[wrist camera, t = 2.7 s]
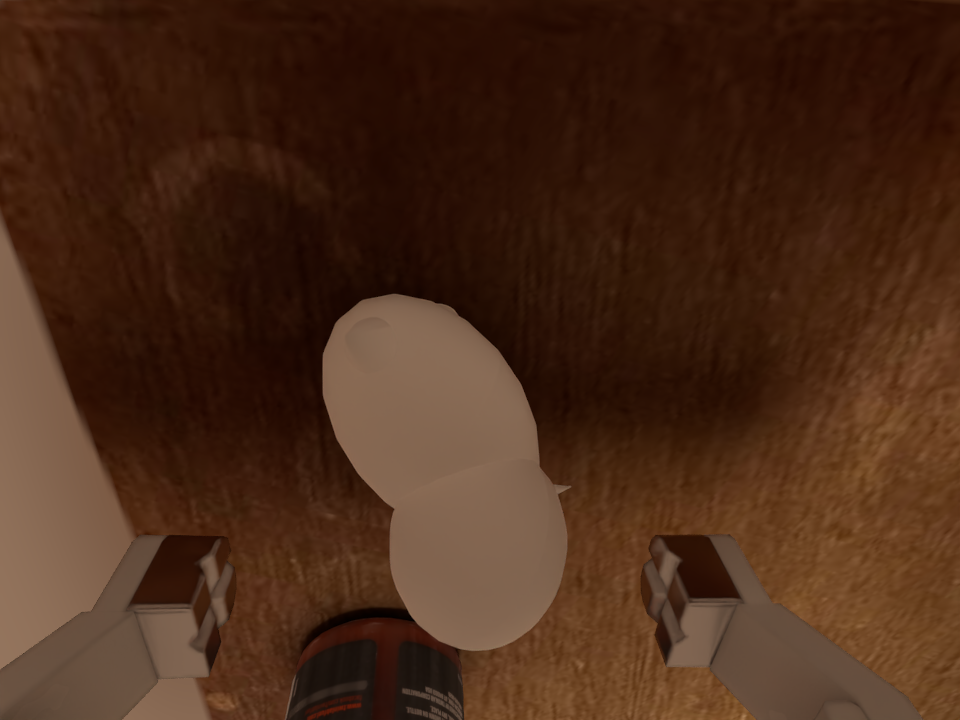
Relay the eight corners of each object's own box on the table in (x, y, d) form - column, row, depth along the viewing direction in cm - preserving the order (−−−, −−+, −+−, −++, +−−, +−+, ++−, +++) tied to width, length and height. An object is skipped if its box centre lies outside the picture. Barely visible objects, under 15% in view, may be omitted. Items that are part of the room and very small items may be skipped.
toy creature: (433, 514, 18) (431, 729, 13) (281, 300, 14) (183, 482, 9) (573, 460, 17) (636, 665, 12) (453, 218, 13) (464, 361, 8)
